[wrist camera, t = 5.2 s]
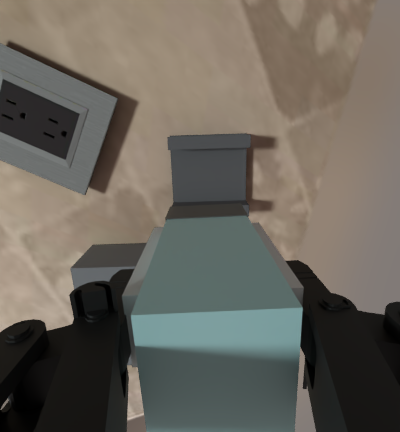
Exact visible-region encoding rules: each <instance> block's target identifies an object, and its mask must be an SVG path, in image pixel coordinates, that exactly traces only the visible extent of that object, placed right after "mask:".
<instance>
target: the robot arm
mask: <svg viewBox="0 0 400 432" xmlns="http://www.w3.org/2000/svg"><path fill="white" fill-rule="evenodd" d="M252 225H253V227H254V228H255V230H256V231H257V233H258V235H259V236H260V238H261V240H262V241H263V243H264V245H265V246H266V248H267V250H268V251H269V253H270V255H271V256H272V258H273V259H274V261H275V263H276V264H277V266H278V268H279V269H280V271H281V273H282V274H283V276H284V278H285V279H286V281H287V283H288V284H289V286H290V287H291V289H292V291H293V292H294V294H295V296H296V297H297V299H298V301H299V302H300V304H301V306H302V307H303V311H302V326H301V341H300V347H301V349H302V351H303V353H304V355H305V366H304V381H303V389H307V387H308V391H309V397H310V402H311V407H312V412H313V417H314V423H315V428H316V432H400V302H393V303H389V304H388V305H387V306H386V309H385V315H382V314H375V313H367V312H362V311H358V310H357V308H356V306H355V305H354V304H353V303H352V302H351V301H350V300H348V299H347V298H345V297H343V296H340V295H337V294H333V293H330V292H329V290H328V289H327V288H326V287H325V286H324V284H323V283H322V282H321V281H320V280H319V279H318V278H317V276H316V275H315V274H314V273H313V271H312V270H311V269H310V268H309V267H308V265H306V264H304V263H302V262H300V261H299V260H295V261H285V260H284V258H283V257H282V256H281V254H280V253H279V251H278V250H277V248H276V247H275V245H274V244H273V243H272V241H271V240H270V238H269V237H268V235H267V234H266V232H265V231H264V229H263V228H262V227H261V225H260V224H259V223H252ZM163 228H164V227H155V228H154V229H153V231H152V233H151V236H150V238H149V240H148V242H147V244H146V246H145V248H144V250H143V252H142V255H141V257H140V259H139V261H138V263H137V265H136V267H135V269H121V270H119V271H118V272H117V273H115V274H114V275H113V276H112V277H111V279H110V281H109V282H108V281H94V282H89V283H86V284H84V285H81V286H79V287H77V288H76V289H74V290H73V291H72V292H71V294H70V295H69V296H70V301H71V305H72V310H73V315H74V321H73V324H71V325H68V326H65V327H61V328H57V329H53V330H49V331H47V330H46V326H45V323H44V322H42V321H41V320H34V319H33V320H25V321H21V322H18V323H15V324H13V325H12V326H10V327H8V328H6V329H4V330H3V331H2V332H0V409H1V407H2V405H3V403H4V402H5V401H6V400H7V398H8V399H9V401H8V403H7V404H6V405H5V407H4V408H3V409H2V410H0V432H126V431H127V407H128V381H129V377H128V370H127V364H128V361H129V357H130V355H131V362H132V367H138V365H137V358H136V350H135V343H134V336H133V328H132V321H131V313H132V311H133V308H134V305H135V303H136V300H137V297H138V295H139V292H140V289H141V286H142V284H143V281H144V278H145V276H146V273H147V270H148V268H149V265H150V262H151V260H152V257H153V254H154V252H155V249H156V246H157V244H158V241H159V238H160V236H161V233H162V230H163Z"/></svg>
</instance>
